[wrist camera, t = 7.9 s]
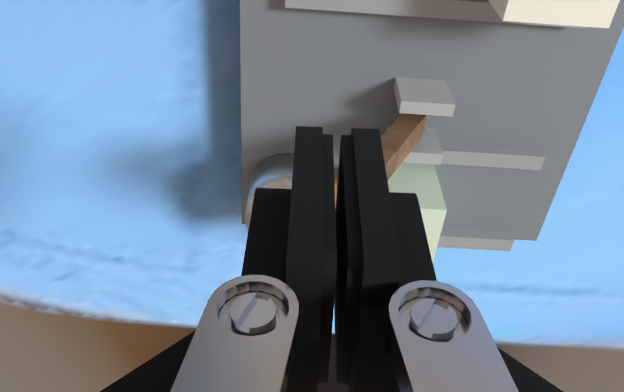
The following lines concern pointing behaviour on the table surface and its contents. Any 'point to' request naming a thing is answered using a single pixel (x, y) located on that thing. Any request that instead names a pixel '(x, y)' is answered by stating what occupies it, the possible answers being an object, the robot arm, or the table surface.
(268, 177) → the button
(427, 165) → the slider green
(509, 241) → the panel
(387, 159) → the lever
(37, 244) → the table surface
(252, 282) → the robot arm
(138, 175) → the table surface
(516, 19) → the block
